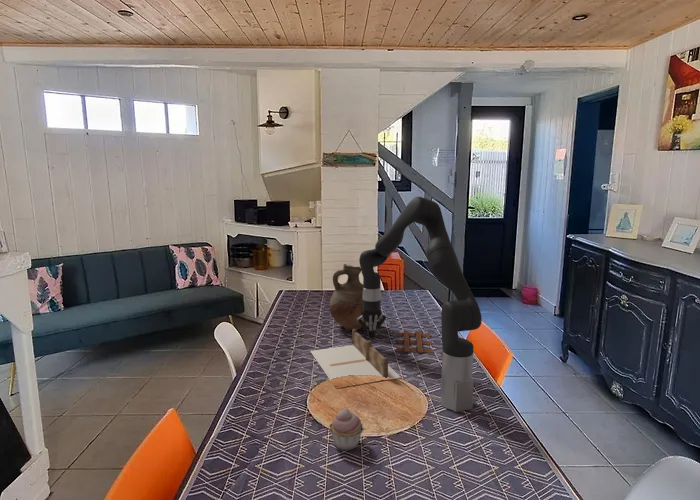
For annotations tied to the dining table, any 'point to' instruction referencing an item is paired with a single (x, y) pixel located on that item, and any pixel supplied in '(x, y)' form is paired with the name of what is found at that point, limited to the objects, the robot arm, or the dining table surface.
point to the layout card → (347, 362)
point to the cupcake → (346, 430)
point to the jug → (347, 298)
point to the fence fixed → (376, 359)
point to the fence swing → (359, 341)
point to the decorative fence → (413, 342)
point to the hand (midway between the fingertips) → (371, 338)
